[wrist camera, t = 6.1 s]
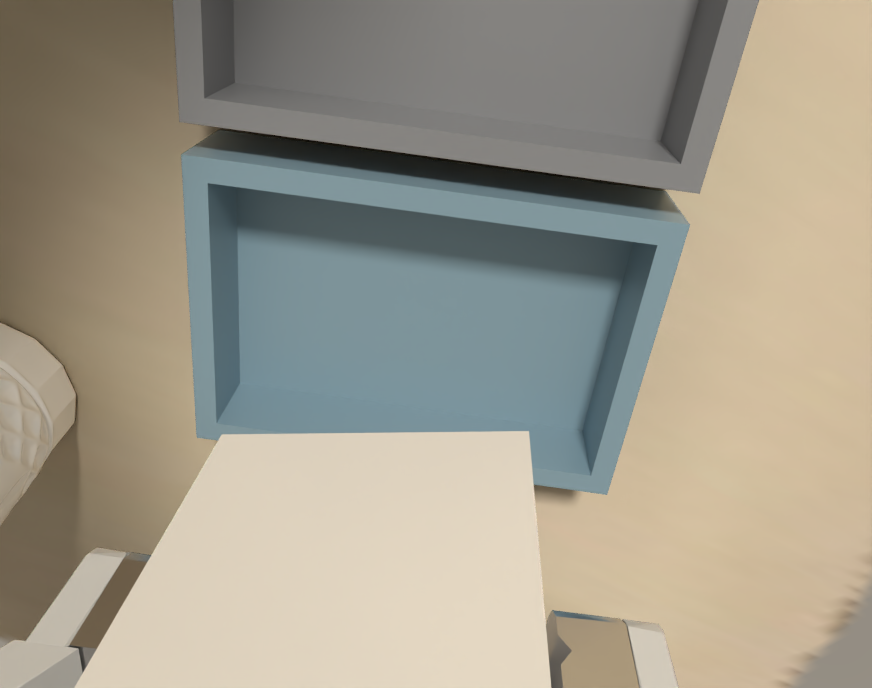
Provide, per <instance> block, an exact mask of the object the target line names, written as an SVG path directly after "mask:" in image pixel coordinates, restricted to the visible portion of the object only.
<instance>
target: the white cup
mask: <svg viewBox="0 0 872 688" xmlns="http://www.w3.org/2000/svg"><path fill="white" fill-rule="evenodd" d="M75 406H76V393H75V391H74V388H73V386H72V384H71V382H70V380H69V378H68V376H67V374H66V371H65V369H64V367H63V365H62V364H61V363H60V362H59V361H58V360H57V359H56V358H55V357H54V356H53V355H52V354H51V353H50V352H49V351H47V350H46V349H45V348H44V347H43V346H42V345H41V344H40V343H39V342H38V341H37V340H36V339H34V338H32V337H30V336H28V335H26V334H24V333H22V332H20V331H18V330H15V329H13V328H11V327H9V326H7V325H5V324H3V323H0V526H1V524H2V523H3V522H4V521H5V519H6V518H7V516H8V515H9V513H10V512H11V510H12V508H13V507H14V506H15V505H16V503H17V502H18V501H19V500H20V499H21V498H22V496H23V495H24V493H25V492H26V490H27V489H28V488H29V486H30V485H31V483H32V481H33V480H34V479H35V478H36V477H37V475H38V474H39V473H40V471H41V468H42V465H43V463H44V462H45V461H46V459H47V458H48V456H49V454H50V453H51V451H52V450H53V449H54V447H55V446H56V445H57V444H58V442H59V441H60V440H61V439H62V437H63V436H64V435H65V434H66V432H67V431H68V430H69V429H70V427H71V426H72V425H73V423H74V422H75Z"/></svg>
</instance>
